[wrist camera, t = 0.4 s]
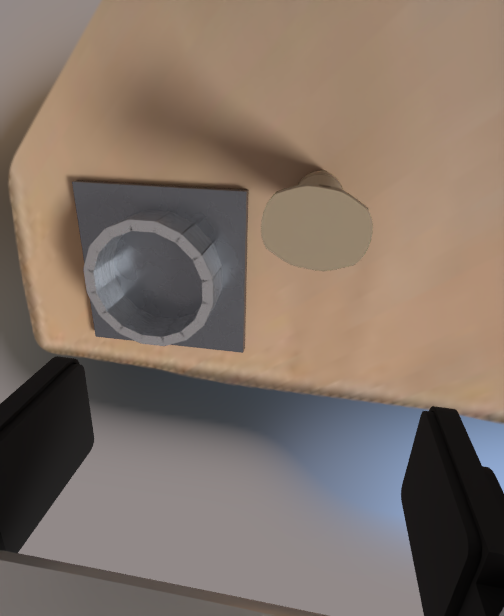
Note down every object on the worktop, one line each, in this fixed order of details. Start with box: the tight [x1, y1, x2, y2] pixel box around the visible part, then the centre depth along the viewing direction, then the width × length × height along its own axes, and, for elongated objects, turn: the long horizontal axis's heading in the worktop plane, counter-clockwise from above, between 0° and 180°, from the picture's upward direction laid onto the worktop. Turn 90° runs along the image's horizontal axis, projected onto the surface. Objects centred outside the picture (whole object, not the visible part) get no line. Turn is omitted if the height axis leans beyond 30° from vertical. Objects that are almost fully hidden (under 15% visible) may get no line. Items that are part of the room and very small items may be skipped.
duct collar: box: [72, 180, 248, 352], centre depth 41 cm, size 17×17×5 cm
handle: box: [261, 170, 373, 271], centre depth 31 cm, size 5×6×15 cm
